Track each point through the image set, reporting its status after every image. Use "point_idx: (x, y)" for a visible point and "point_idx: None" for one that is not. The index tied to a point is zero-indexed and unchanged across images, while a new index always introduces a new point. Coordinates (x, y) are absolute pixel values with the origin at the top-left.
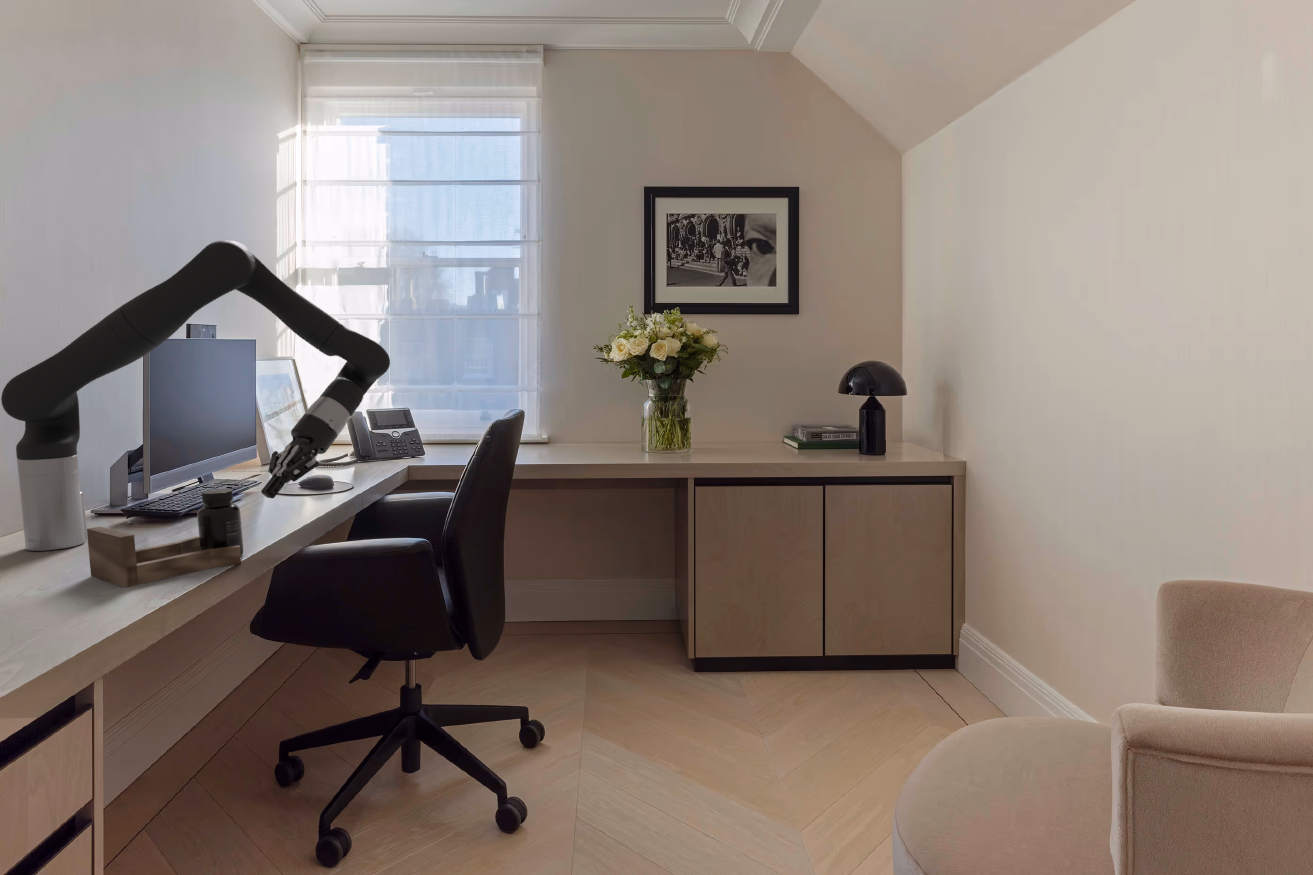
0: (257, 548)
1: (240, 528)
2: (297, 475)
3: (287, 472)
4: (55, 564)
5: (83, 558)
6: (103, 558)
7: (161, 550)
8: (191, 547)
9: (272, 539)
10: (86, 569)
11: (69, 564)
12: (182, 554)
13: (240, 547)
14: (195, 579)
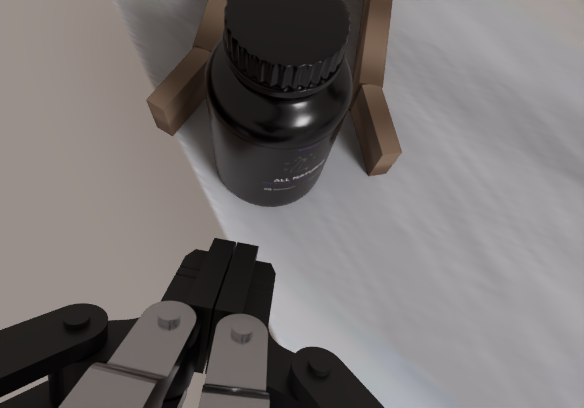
0: None
1: (218, 146)
2: (36, 403)
3: (57, 311)
4: (555, 11)
5: (565, 56)
6: None
7: (361, 51)
8: (366, 132)
9: None
10: (453, 3)
11: (530, 18)
12: None
13: (216, 164)
14: (149, 7)
